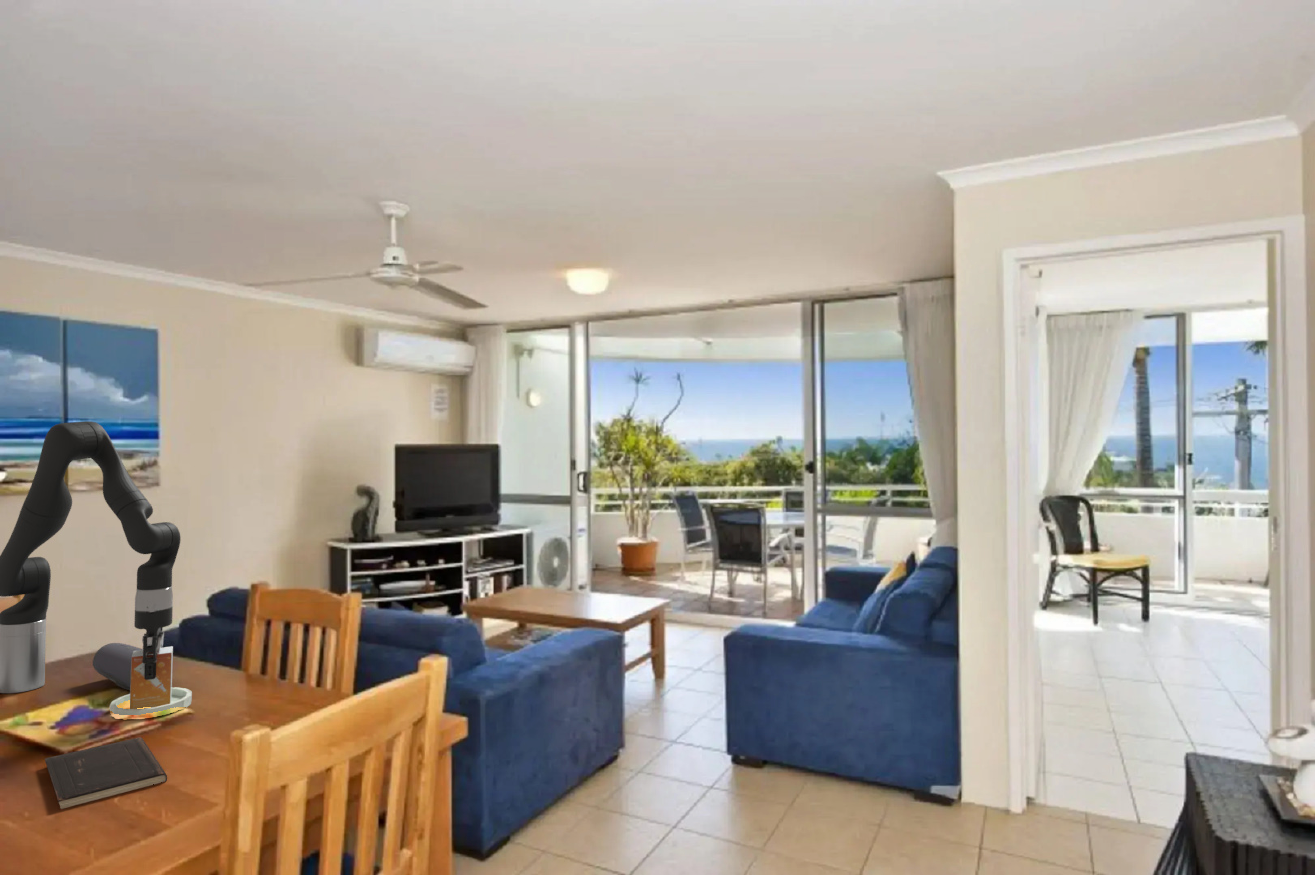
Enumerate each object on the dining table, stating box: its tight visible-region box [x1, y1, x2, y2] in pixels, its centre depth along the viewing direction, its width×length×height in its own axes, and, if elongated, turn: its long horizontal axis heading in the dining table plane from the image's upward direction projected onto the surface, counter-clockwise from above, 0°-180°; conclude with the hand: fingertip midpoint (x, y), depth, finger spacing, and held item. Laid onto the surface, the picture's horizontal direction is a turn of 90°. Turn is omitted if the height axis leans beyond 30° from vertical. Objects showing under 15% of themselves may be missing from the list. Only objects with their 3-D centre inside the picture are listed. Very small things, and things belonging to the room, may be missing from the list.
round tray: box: [109, 686, 193, 715], centre depth 176 cm, size 16×16×2 cm
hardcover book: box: [44, 737, 168, 810], centre depth 141 cm, size 16×23×2 cm
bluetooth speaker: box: [92, 642, 143, 691], centre depth 191 cm, size 23×9×10 cm, turn 58°
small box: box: [129, 645, 174, 709], centre depth 175 cm, size 8×6×13 cm
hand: (152, 673), depth 176 cm, fingers open, 8 cm apart
